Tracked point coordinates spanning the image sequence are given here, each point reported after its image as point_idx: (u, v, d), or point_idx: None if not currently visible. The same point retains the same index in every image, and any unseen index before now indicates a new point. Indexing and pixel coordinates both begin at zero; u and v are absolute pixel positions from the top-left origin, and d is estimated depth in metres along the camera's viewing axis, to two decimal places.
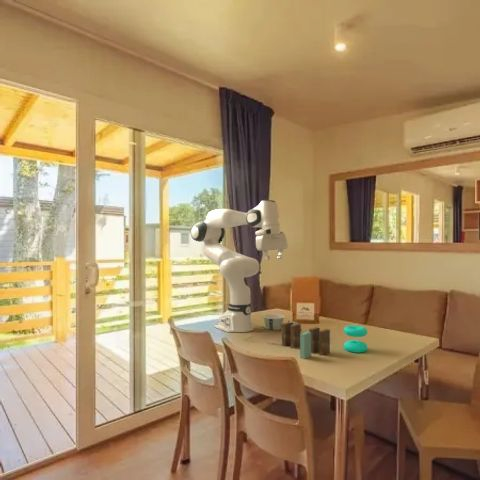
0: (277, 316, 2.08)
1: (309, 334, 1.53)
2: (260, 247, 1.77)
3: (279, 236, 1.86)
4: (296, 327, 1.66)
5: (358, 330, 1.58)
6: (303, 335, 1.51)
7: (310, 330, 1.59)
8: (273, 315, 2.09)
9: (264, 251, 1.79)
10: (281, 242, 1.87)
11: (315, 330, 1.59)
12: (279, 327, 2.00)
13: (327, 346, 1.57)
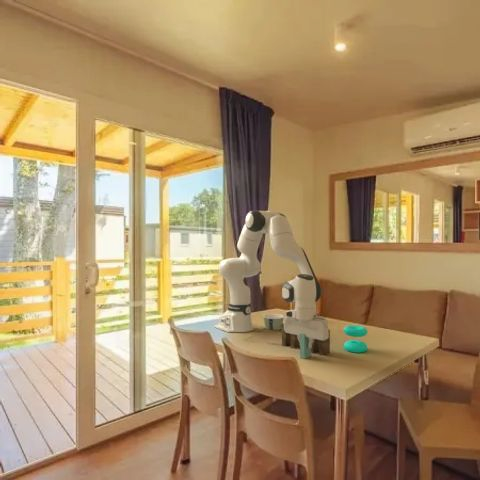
0: (277, 316, 2.08)
1: None
2: None
3: (311, 322, 1.49)
4: None
5: (358, 330, 1.58)
6: (303, 335, 1.51)
7: None
8: (273, 315, 2.09)
9: None
10: (313, 330, 1.48)
11: None
12: (279, 327, 2.00)
13: (327, 346, 1.57)
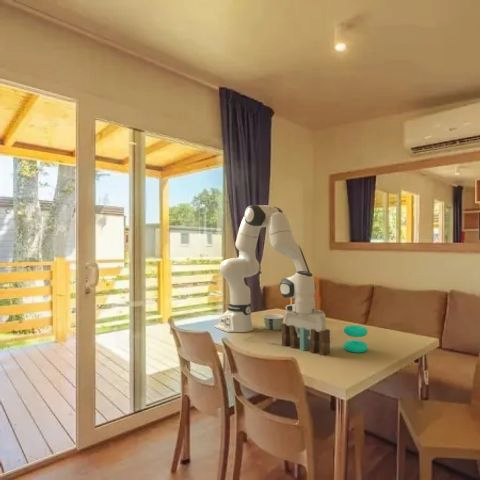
0: (277, 316, 2.08)
1: None
2: None
3: (310, 315, 1.60)
4: None
5: (358, 330, 1.58)
6: (302, 328, 1.62)
7: (311, 330, 1.59)
8: (273, 315, 2.09)
9: None
10: (312, 323, 1.59)
11: None
12: (279, 327, 2.00)
13: (327, 346, 1.57)
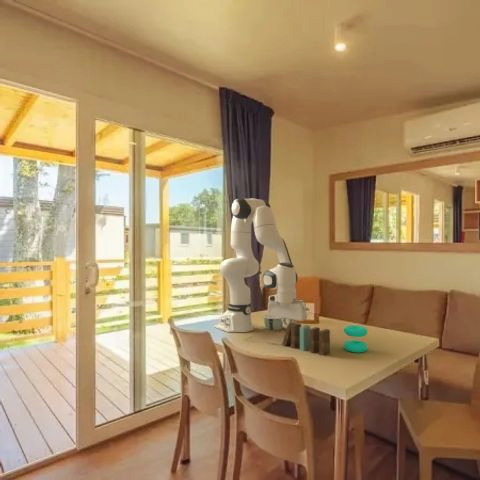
0: None
1: (308, 328, 1.64)
2: None
3: (291, 305, 1.67)
4: (296, 327, 1.66)
5: (358, 330, 1.58)
6: (302, 328, 1.62)
7: (310, 330, 1.59)
8: None
9: None
10: (293, 312, 1.66)
11: (315, 330, 1.59)
12: (279, 327, 2.00)
13: (327, 346, 1.57)
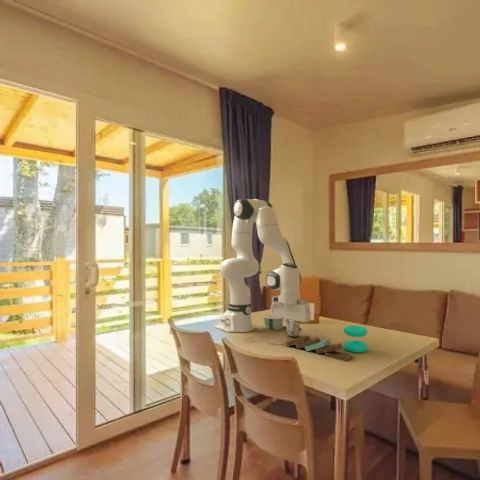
0: None
1: (327, 344, 1.57)
2: None
3: (294, 306, 1.66)
4: (314, 343, 1.59)
5: (358, 330, 1.58)
6: (323, 345, 1.55)
7: (335, 347, 1.52)
8: None
9: None
10: (297, 313, 1.65)
11: (337, 349, 1.53)
12: (279, 327, 2.00)
13: None
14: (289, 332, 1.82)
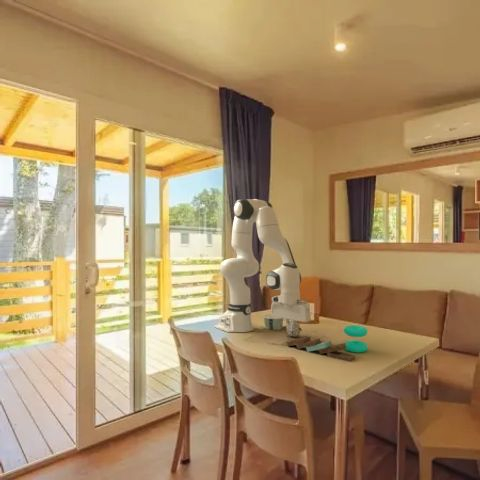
0: None
1: None
2: None
3: (294, 306, 1.66)
4: (315, 344, 1.59)
5: (358, 330, 1.58)
6: (325, 347, 1.54)
7: (339, 346, 1.51)
8: None
9: None
10: (297, 313, 1.65)
11: None
12: (279, 327, 2.00)
13: None
14: (289, 332, 1.82)
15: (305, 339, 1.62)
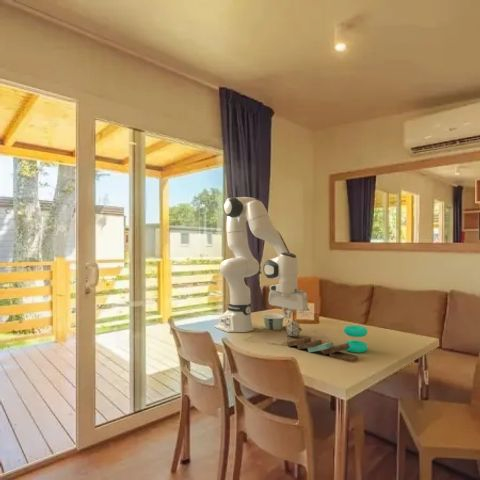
0: (277, 316, 2.08)
1: None
2: None
3: (292, 295, 1.67)
4: (316, 345, 1.58)
5: (358, 330, 1.58)
6: (326, 348, 1.53)
7: (343, 346, 1.50)
8: (273, 315, 2.09)
9: None
10: (294, 302, 1.66)
11: (345, 349, 1.51)
12: (279, 327, 2.00)
13: None
14: (289, 332, 1.82)
15: (305, 340, 1.62)
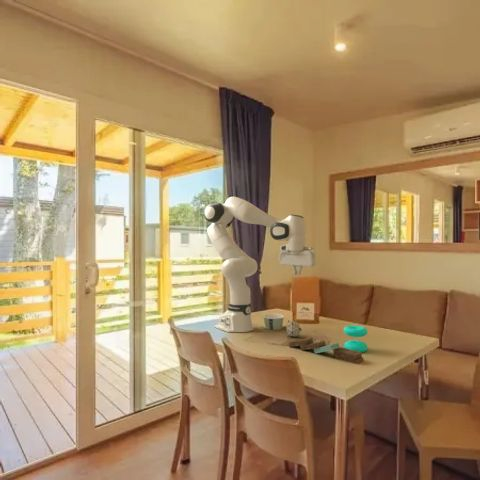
0: (277, 316, 2.08)
1: (336, 348, 1.53)
2: None
3: (301, 252, 1.80)
4: (319, 347, 1.57)
5: (358, 330, 1.58)
6: (330, 349, 1.50)
7: (353, 356, 1.45)
8: (273, 315, 2.09)
9: None
10: (303, 259, 1.79)
11: None
12: (279, 327, 2.00)
13: None
14: (289, 332, 1.82)
15: (308, 341, 1.62)
